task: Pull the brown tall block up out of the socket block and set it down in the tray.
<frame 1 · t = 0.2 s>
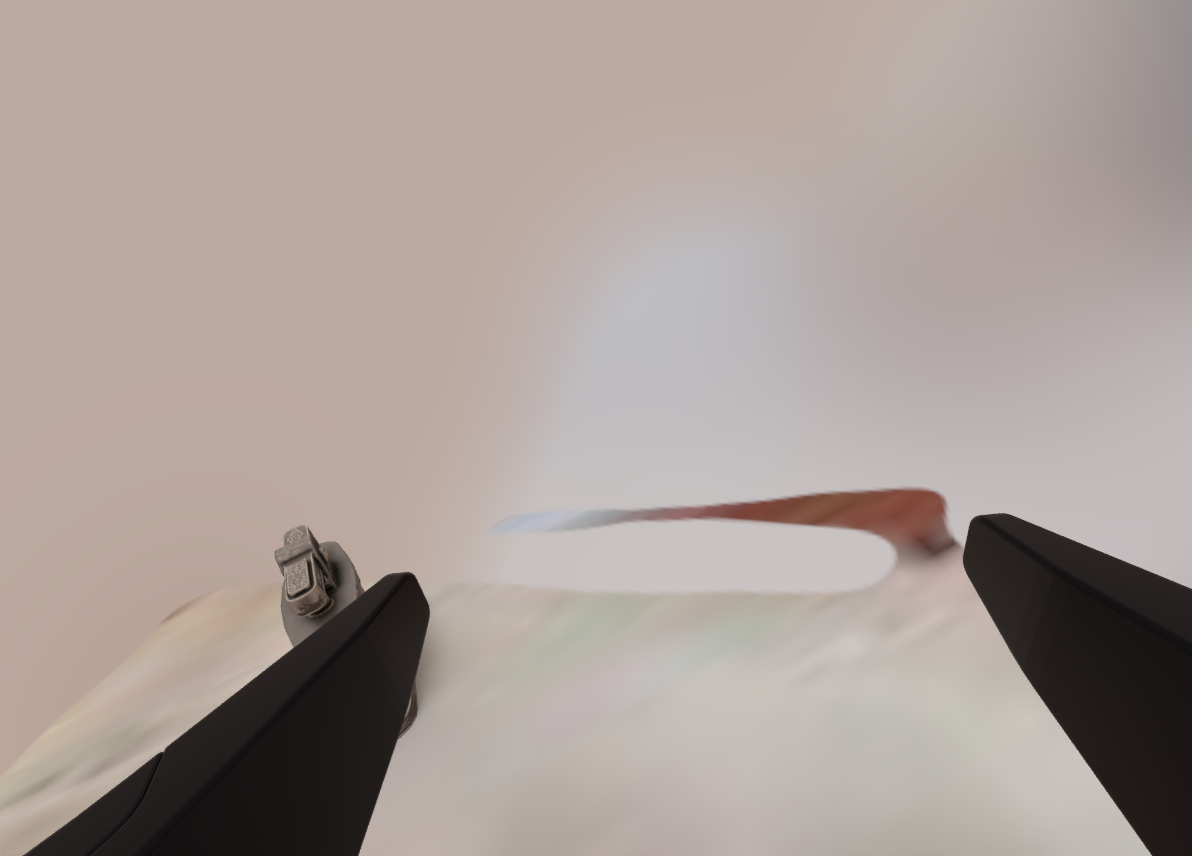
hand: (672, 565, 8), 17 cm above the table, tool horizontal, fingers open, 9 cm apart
lighter: (382, 683, 27), on the table
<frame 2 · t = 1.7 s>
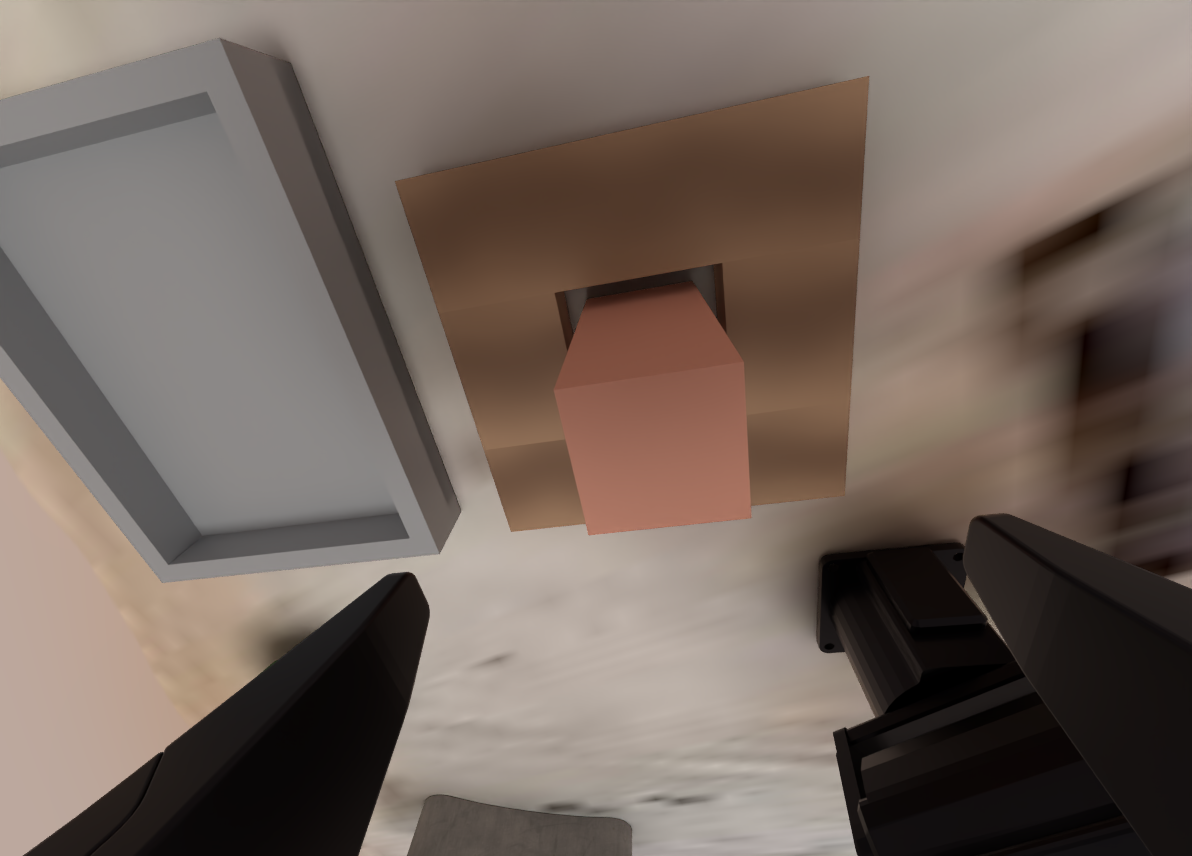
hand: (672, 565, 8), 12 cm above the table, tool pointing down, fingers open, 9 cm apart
tray: (241, 359, 20), on the table
hip flask: (528, 817, 37), on the table
socket block: (645, 341, 19), on the table
brown tall block: (650, 383, 15), in the socket block
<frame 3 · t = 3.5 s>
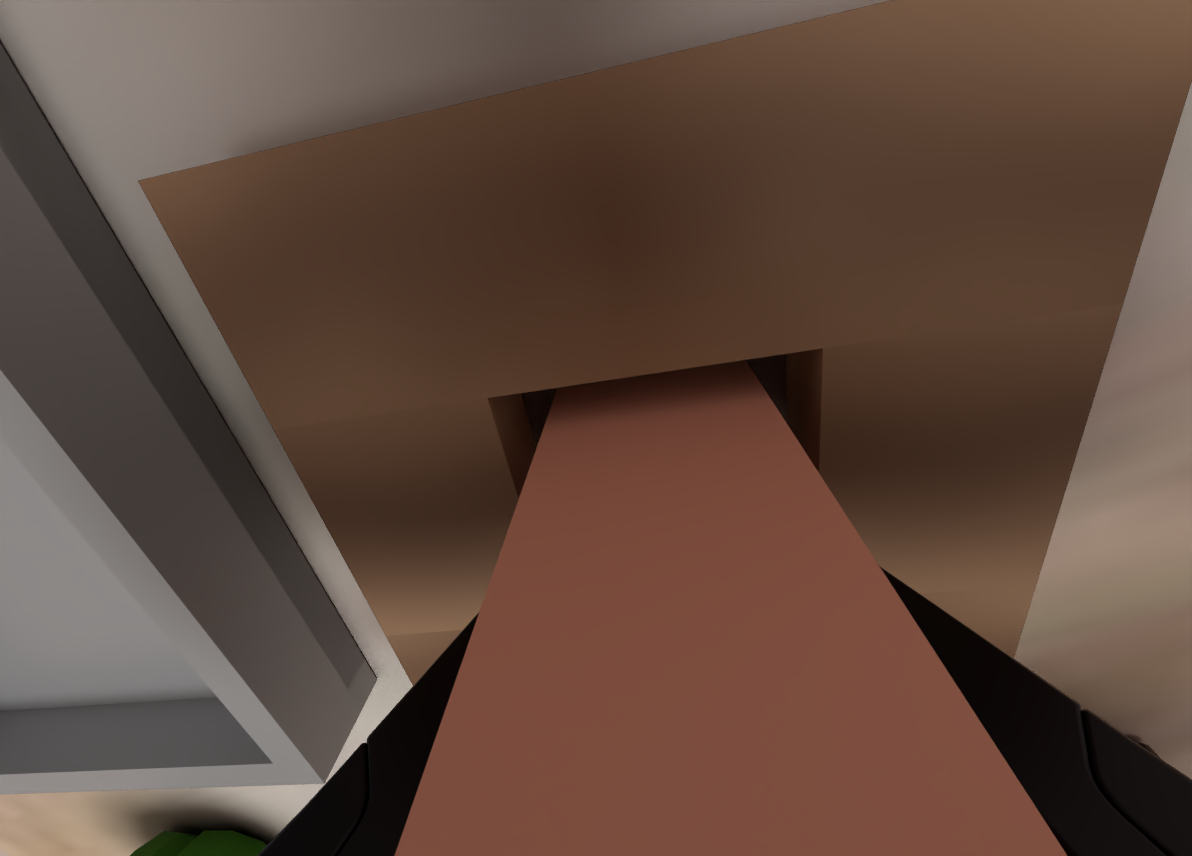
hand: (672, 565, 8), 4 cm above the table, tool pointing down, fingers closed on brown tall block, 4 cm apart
socket block: (660, 456, 11), on the table
bell pepper: (232, 843, 22), on the table
brown tall block: (678, 612, 7), in the socket block, touching gripper
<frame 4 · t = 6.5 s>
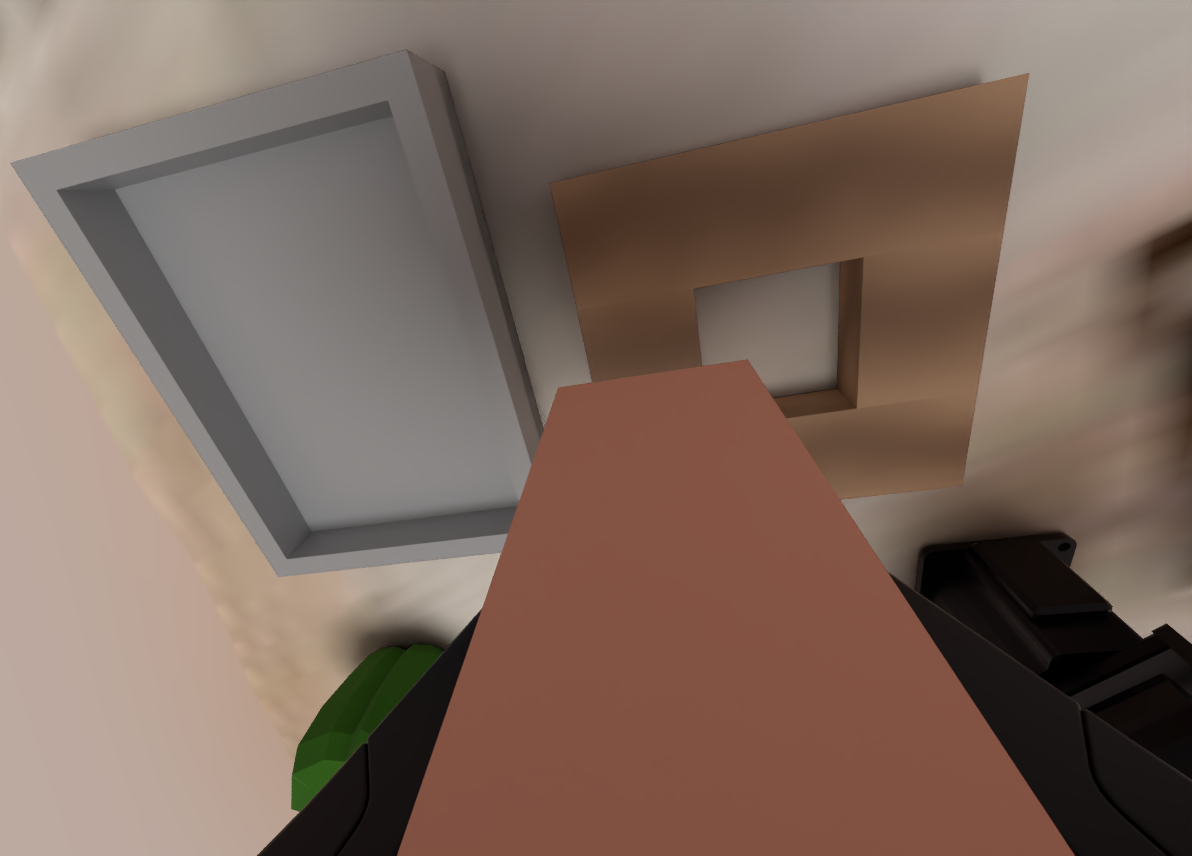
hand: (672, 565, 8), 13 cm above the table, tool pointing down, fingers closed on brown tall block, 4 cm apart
tray: (364, 359, 21), on the table
socket block: (765, 336, 19), on the table
bell pepper: (422, 665, 31), on the table
brown tall block: (679, 611, 7), point 14 cm above the table, touching gripper
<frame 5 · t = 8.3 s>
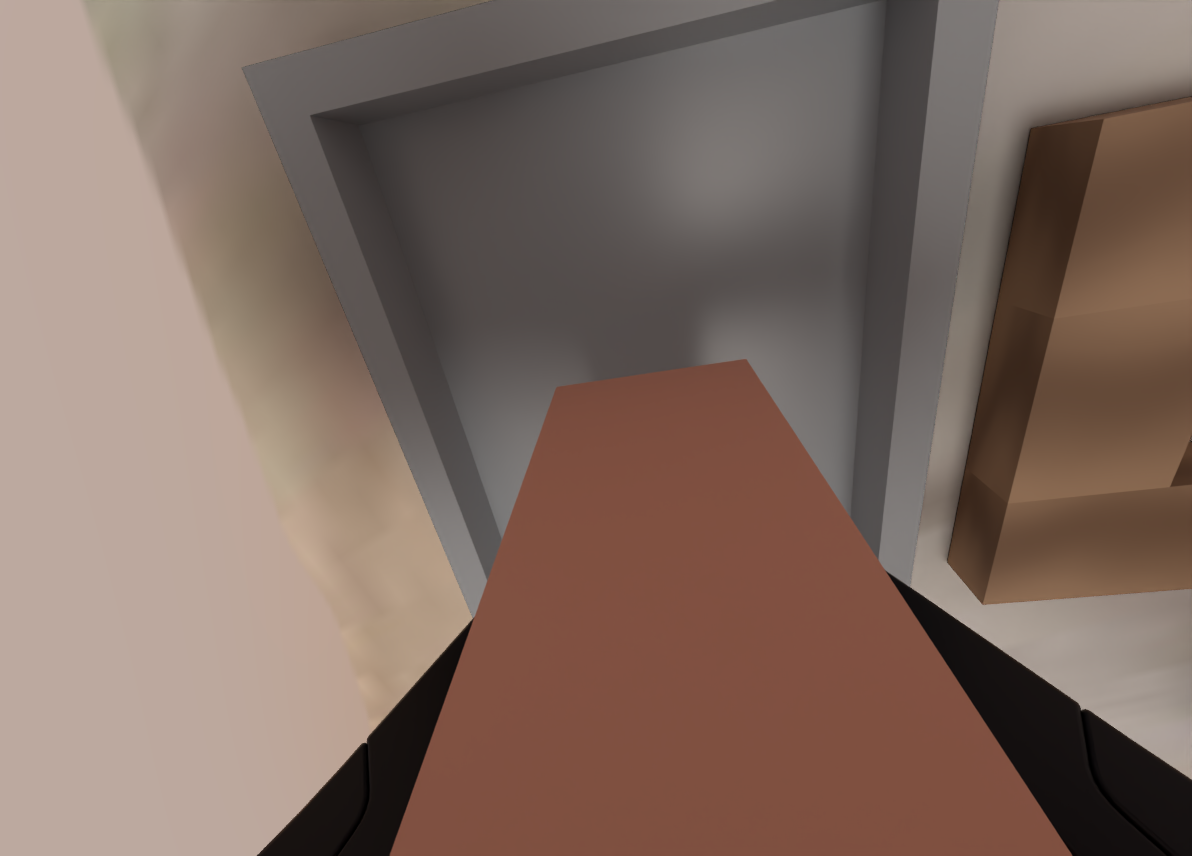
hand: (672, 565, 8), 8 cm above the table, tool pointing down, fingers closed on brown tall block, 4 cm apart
tray: (648, 379, 15), on the table
brown tall block: (677, 611, 7), point 9 cm above the table, touching gripper
when the fingers open (5 cm above the table, at t = 9.5 s): brown tall block stays where it is, resting on tray.
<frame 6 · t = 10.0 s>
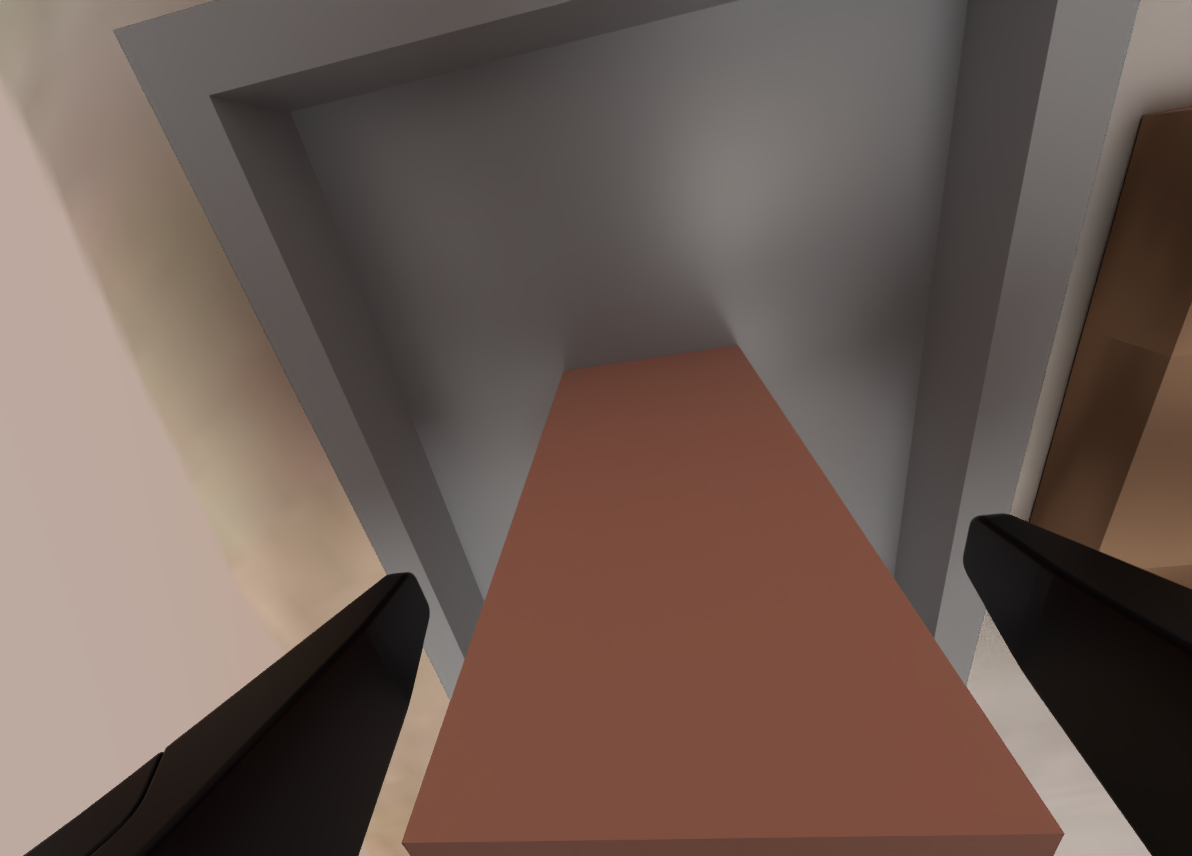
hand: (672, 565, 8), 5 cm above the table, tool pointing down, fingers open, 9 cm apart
tray: (654, 418, 13), on the table
brown tall block: (674, 564, 8), in the tray, point 6 cm above the table
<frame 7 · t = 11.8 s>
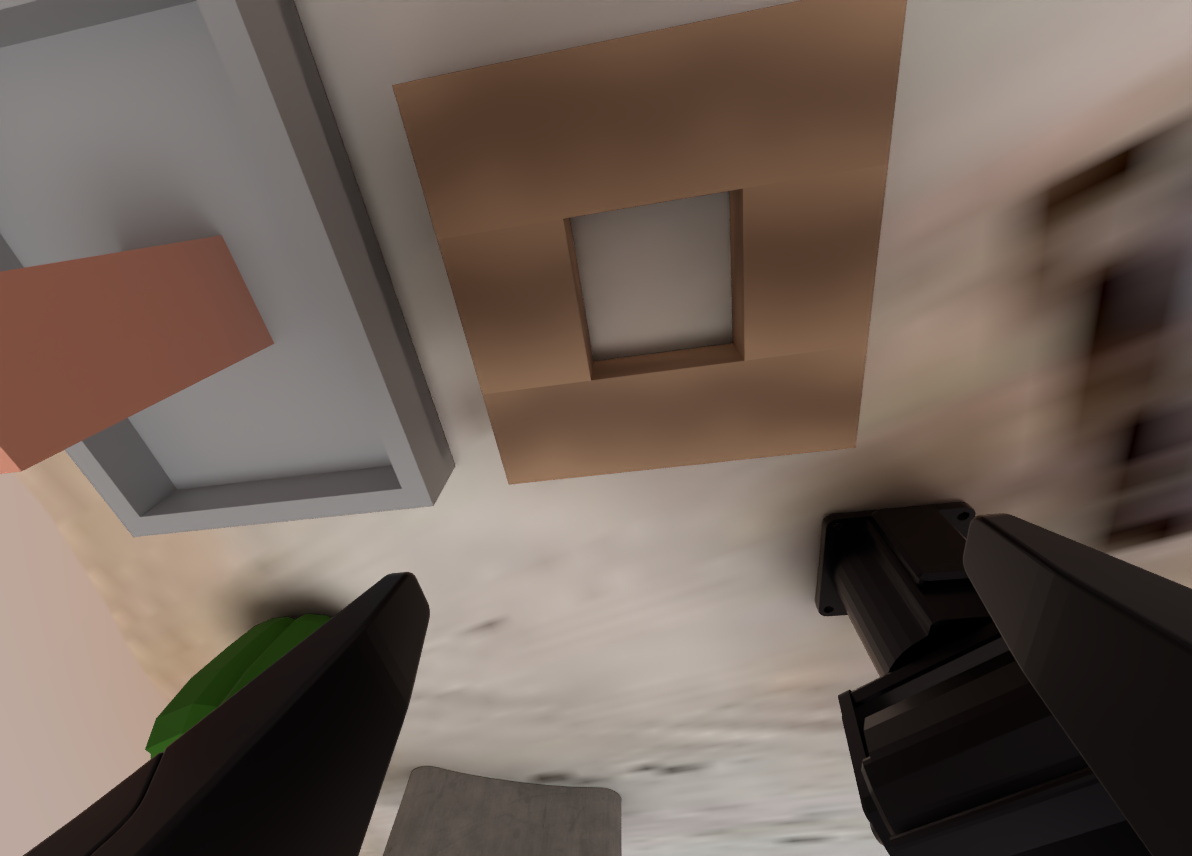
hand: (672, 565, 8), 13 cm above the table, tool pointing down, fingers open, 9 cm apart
tray: (219, 294, 19), on the table
hip flask: (516, 788, 36), on the table
socket block: (655, 281, 18), on the table
bell pepper: (319, 637, 29), on the table
brown tall block: (83, 336, 14), in the tray, point 6 cm above the table
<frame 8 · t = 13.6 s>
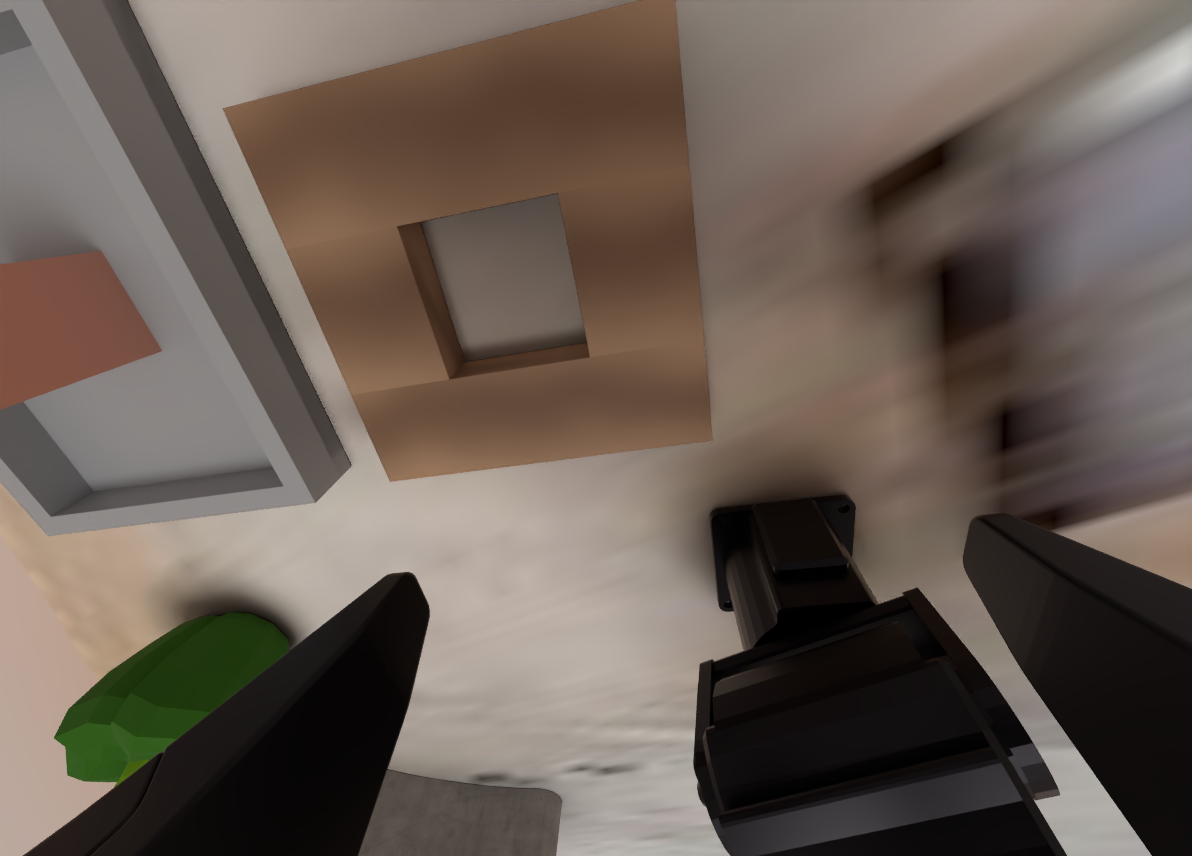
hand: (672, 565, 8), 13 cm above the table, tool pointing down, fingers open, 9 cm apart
tray: (114, 306, 20), on the table
hip flask: (459, 788, 37), on the table
socket block: (510, 284, 19), on the table
bell pepper: (250, 635, 30), on the table
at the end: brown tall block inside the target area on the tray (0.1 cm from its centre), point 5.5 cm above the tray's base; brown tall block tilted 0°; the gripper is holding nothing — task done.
